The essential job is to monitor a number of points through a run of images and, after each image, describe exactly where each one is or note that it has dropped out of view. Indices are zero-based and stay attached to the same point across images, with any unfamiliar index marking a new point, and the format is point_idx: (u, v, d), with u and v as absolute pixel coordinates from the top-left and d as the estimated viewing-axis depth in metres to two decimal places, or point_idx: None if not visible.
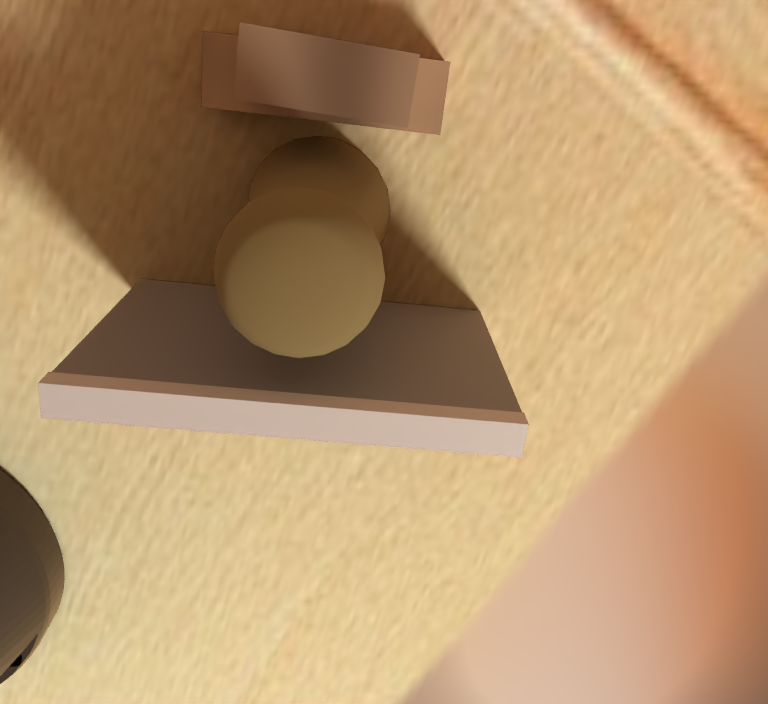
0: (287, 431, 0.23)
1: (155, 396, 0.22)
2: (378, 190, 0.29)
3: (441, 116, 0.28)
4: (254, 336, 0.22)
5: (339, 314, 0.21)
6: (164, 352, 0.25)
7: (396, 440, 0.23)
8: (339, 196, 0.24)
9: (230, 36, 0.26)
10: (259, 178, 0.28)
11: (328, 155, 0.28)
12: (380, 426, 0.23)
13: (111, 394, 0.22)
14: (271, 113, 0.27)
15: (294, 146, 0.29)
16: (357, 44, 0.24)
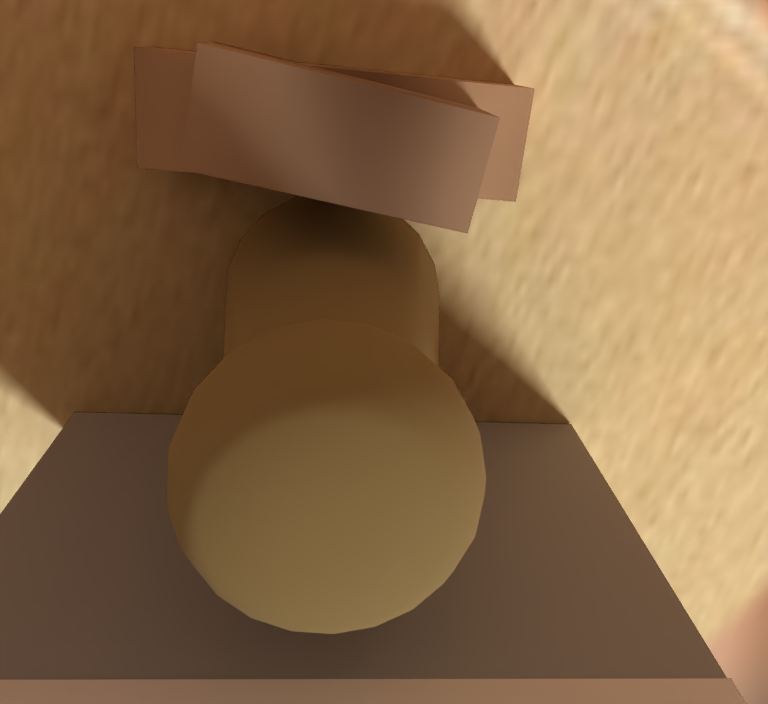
0: None
1: None
2: (426, 273, 0.19)
3: (518, 173, 0.18)
4: (250, 612, 0.11)
5: (413, 569, 0.11)
6: (98, 588, 0.15)
7: None
8: (382, 313, 0.14)
9: (180, 55, 0.16)
10: (241, 268, 0.18)
11: (349, 228, 0.17)
12: None
13: None
14: None
15: (293, 212, 0.19)
16: (397, 94, 0.14)
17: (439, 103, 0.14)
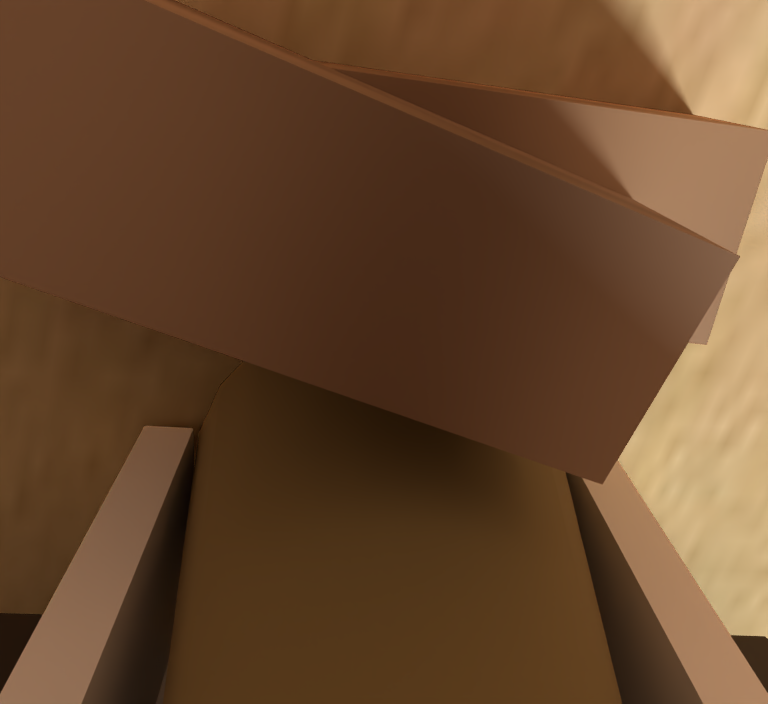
0: None
1: None
2: None
3: (719, 294, 0.09)
4: None
5: None
6: None
7: None
8: None
9: None
10: (214, 475, 0.09)
11: None
12: None
13: None
14: None
15: None
16: (514, 165, 0.06)
17: (608, 201, 0.06)
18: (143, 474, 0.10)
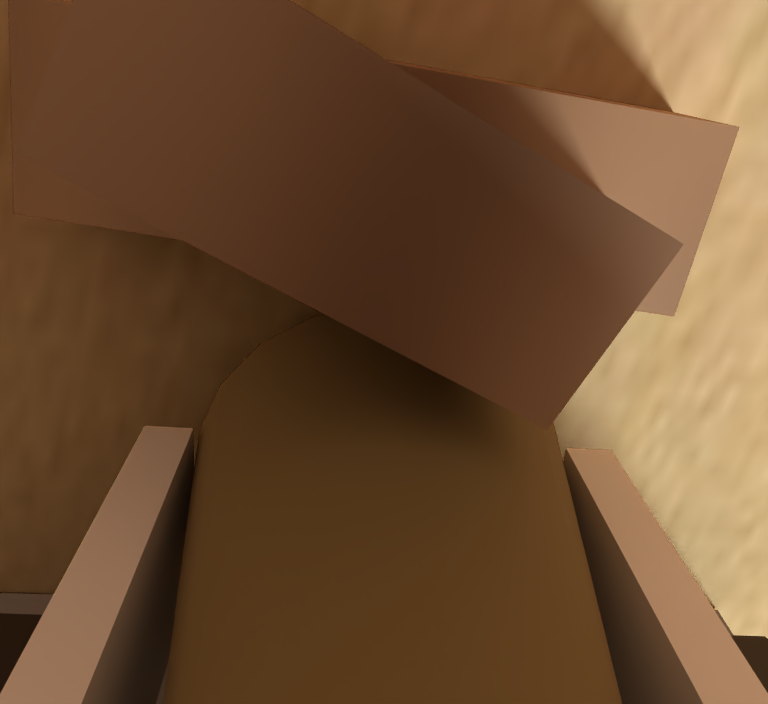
0: None
1: None
2: (558, 467, 0.10)
3: (686, 271, 0.10)
4: None
5: None
6: None
7: None
8: None
9: None
10: (214, 474, 0.09)
11: (424, 405, 0.09)
12: None
13: None
14: None
15: (313, 355, 0.10)
16: (506, 139, 0.07)
17: (580, 182, 0.07)
18: (142, 474, 0.10)
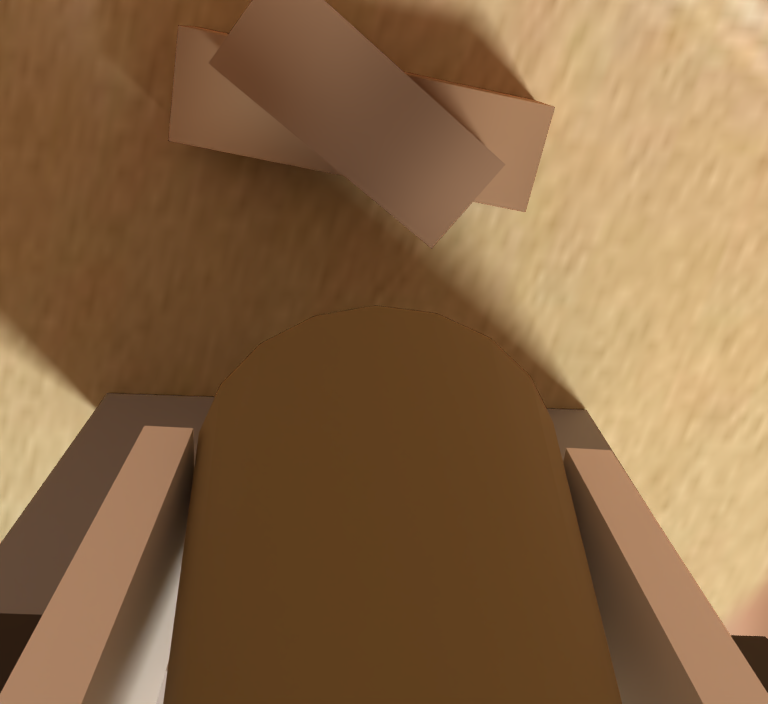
0: None
1: None
2: (558, 467, 0.10)
3: (531, 185, 0.18)
4: None
5: None
6: None
7: None
8: None
9: (221, 37, 0.17)
10: (214, 474, 0.09)
11: (424, 405, 0.09)
12: None
13: None
14: (276, 160, 0.18)
15: (313, 354, 0.10)
16: (430, 99, 0.15)
17: (462, 125, 0.15)
18: (142, 474, 0.10)
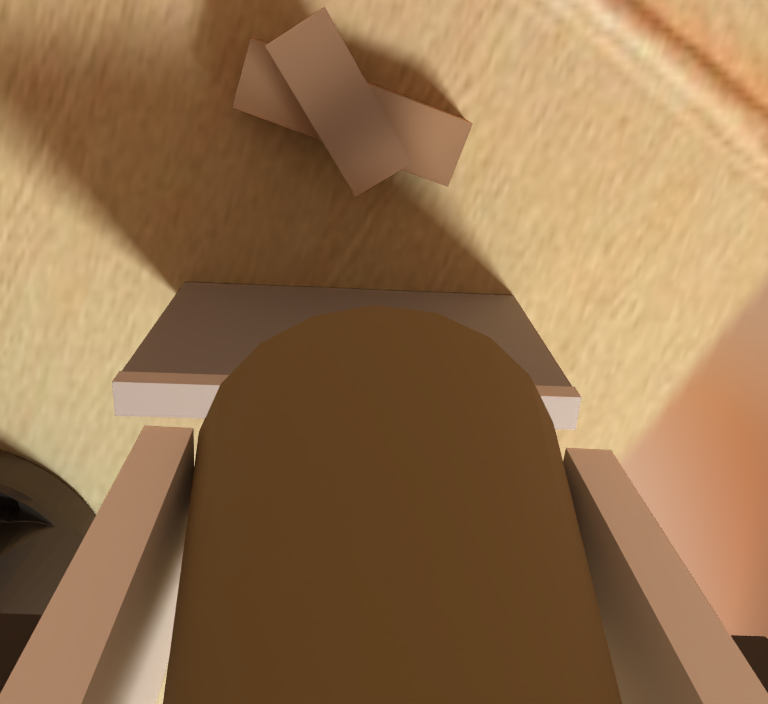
0: None
1: None
2: (558, 466, 0.10)
3: (453, 170, 0.29)
4: None
5: None
6: (223, 348, 0.26)
7: None
8: None
9: None
10: (214, 473, 0.09)
11: (424, 404, 0.09)
12: None
13: (181, 389, 0.23)
14: (297, 129, 0.28)
15: (313, 354, 0.10)
16: (381, 111, 0.26)
17: (394, 132, 0.26)
18: (142, 474, 0.10)
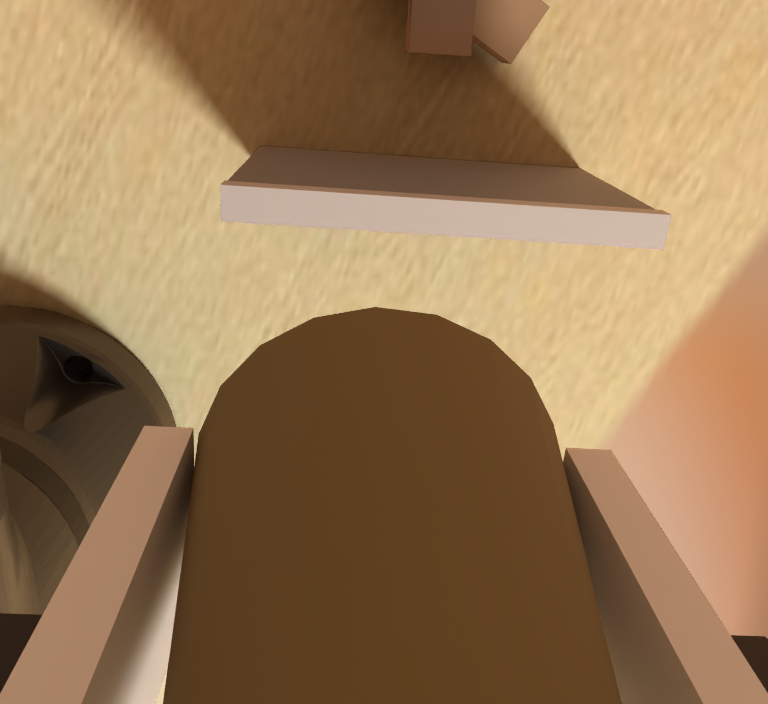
0: (447, 228, 0.24)
1: (327, 196, 0.24)
2: (558, 469, 0.10)
3: (519, 48, 0.30)
4: None
5: None
6: (316, 177, 0.27)
7: (548, 235, 0.25)
8: None
9: None
10: (214, 476, 0.09)
11: (424, 407, 0.09)
12: (534, 221, 0.24)
13: (287, 194, 0.24)
14: None
15: (313, 356, 0.10)
16: None
17: (473, 20, 0.28)
18: (143, 474, 0.10)
